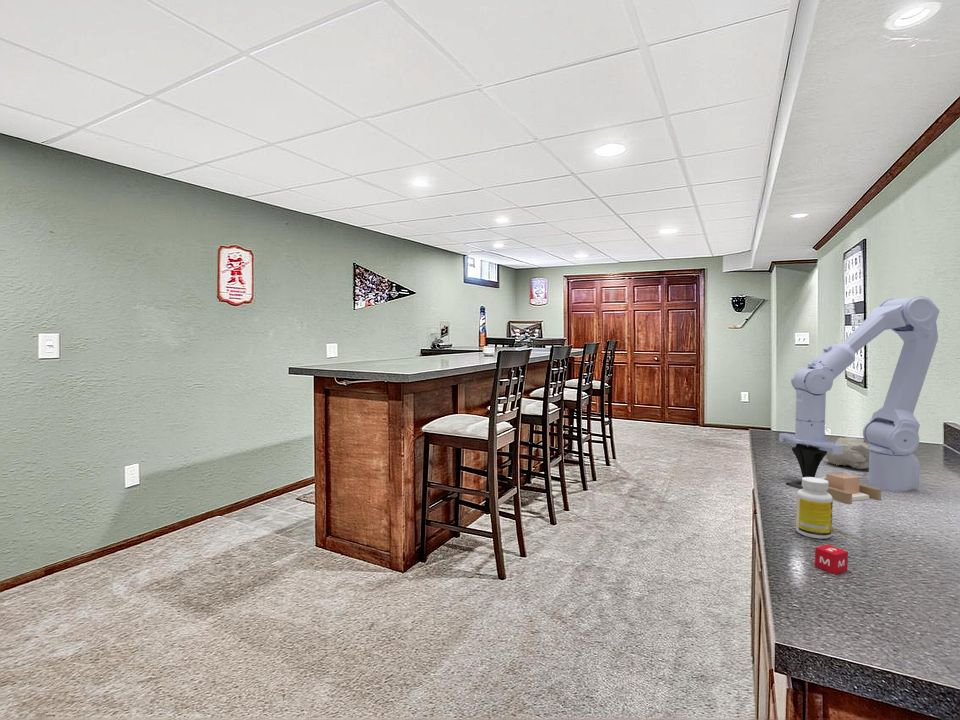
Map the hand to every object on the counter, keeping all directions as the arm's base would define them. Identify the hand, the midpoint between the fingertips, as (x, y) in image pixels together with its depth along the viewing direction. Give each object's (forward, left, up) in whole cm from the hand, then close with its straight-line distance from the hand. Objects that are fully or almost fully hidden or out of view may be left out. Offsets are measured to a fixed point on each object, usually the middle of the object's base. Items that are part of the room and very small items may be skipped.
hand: (808, 478), depth 118 cm
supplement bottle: (+24, +21, -3) cm, 32 cm away
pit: (0, +1, -2) cm, 3 cm away
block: (0, +8, -1) cm, 8 cm away
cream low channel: (0, +8, -2) cm, 8 cm away
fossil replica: (-29, -11, -3) cm, 31 cm away
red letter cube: (+34, +32, -3) cm, 47 cm away
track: (0, +12, -2) cm, 12 cm away
